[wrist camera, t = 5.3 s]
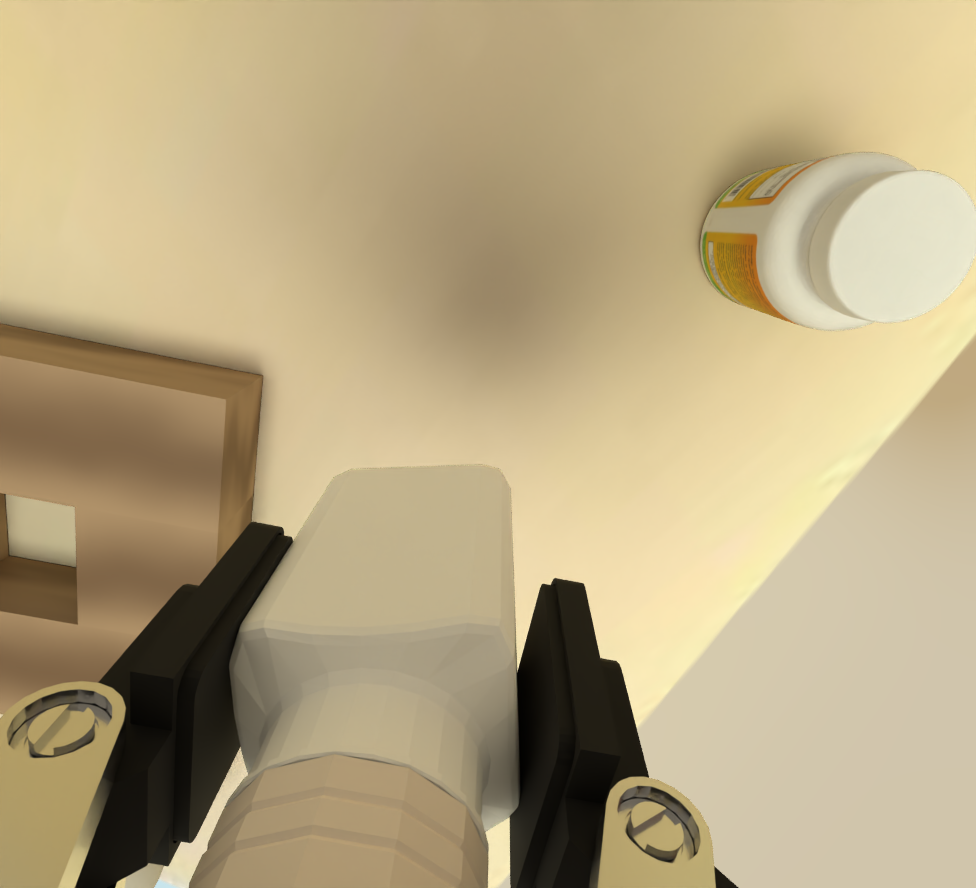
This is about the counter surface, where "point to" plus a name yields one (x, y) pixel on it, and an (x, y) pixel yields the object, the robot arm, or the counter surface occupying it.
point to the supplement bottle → (840, 241)
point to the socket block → (114, 494)
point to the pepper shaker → (378, 691)
